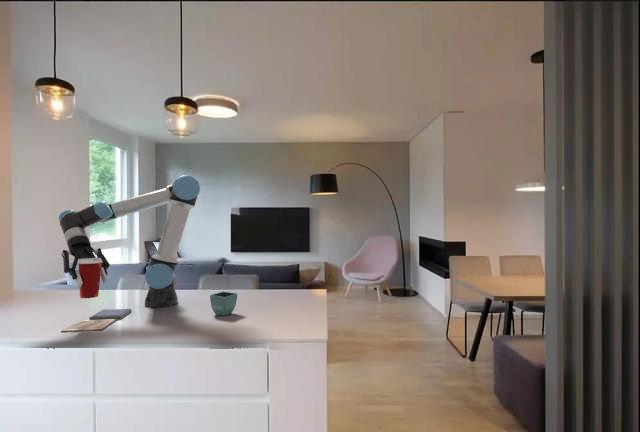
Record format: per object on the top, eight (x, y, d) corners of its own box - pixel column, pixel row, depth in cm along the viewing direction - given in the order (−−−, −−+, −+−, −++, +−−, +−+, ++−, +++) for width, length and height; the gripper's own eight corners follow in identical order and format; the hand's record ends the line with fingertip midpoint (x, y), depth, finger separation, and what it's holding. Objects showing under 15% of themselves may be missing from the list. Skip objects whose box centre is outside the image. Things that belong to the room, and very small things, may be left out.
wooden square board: (117, 319, 142) (117, 318, 142) (102, 330, 129) (102, 329, 129) (80, 321, 140) (80, 320, 140) (61, 332, 126) (61, 330, 126)
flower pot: (238, 312, 154) (238, 293, 154) (224, 317, 146) (225, 297, 146) (222, 310, 158) (222, 291, 158) (209, 315, 150) (209, 295, 150)
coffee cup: (106, 295, 137) (107, 258, 137) (86, 299, 129) (87, 260, 129) (91, 293, 140) (92, 257, 140) (71, 297, 132) (72, 259, 132)
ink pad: (131, 311, 155) (131, 308, 155) (120, 319, 143) (120, 315, 143) (102, 312, 153) (102, 309, 153) (89, 320, 141) (89, 316, 141)
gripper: (102, 245, 152) (118, 285, 142) (44, 248, 135) (58, 293, 125) (107, 234, 149) (124, 274, 140) (49, 235, 132) (64, 281, 122)
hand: (93, 283), depth 132 cm, fingers closed on coffee cup, 8 cm apart
